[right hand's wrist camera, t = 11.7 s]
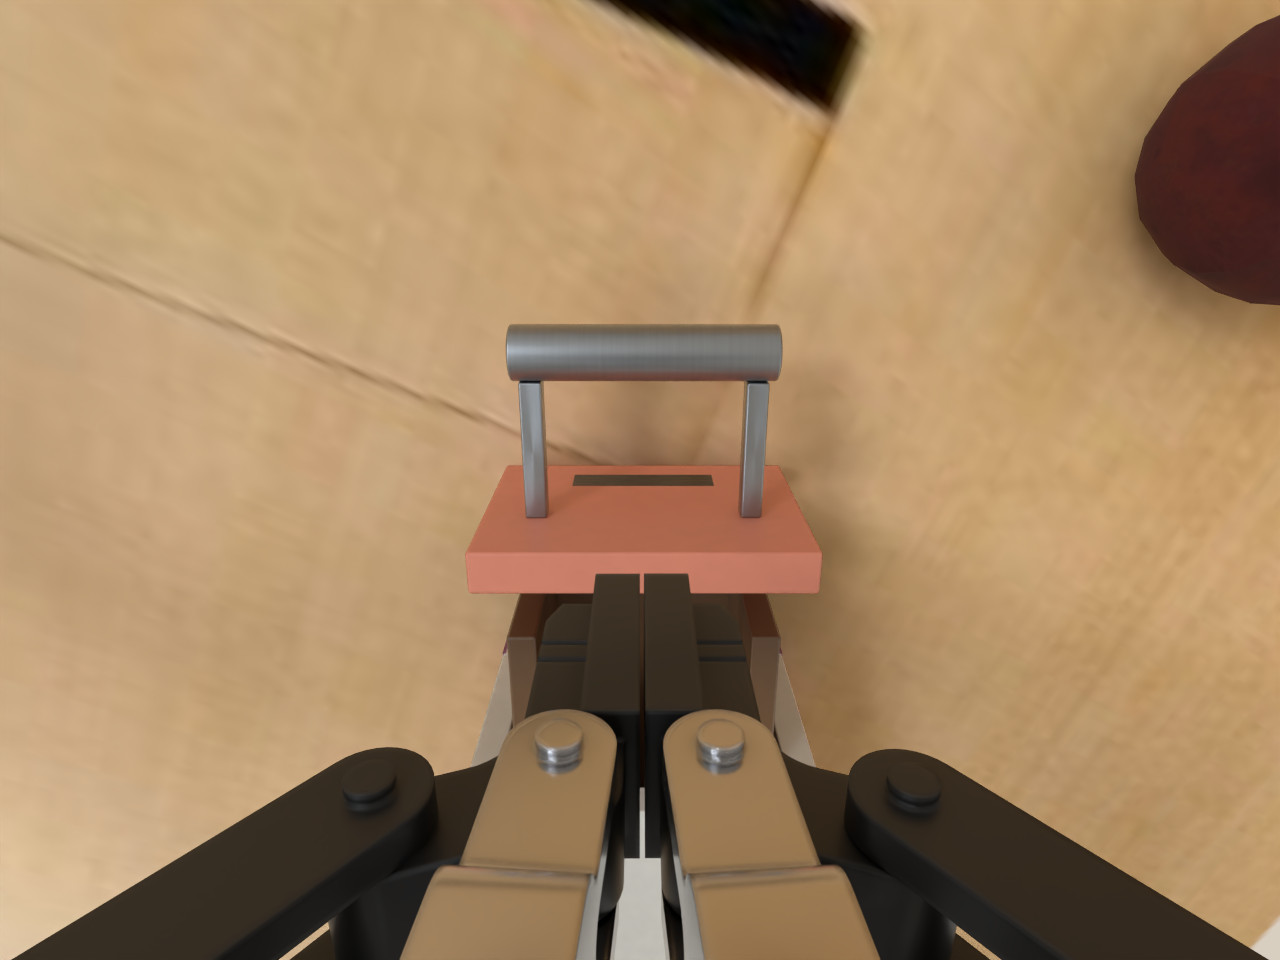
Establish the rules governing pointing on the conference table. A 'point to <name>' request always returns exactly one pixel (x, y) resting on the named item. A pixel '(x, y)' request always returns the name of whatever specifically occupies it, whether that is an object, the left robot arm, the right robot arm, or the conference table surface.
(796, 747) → the cabinet
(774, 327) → the drawer
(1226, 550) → the conference table surface
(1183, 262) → the potato
